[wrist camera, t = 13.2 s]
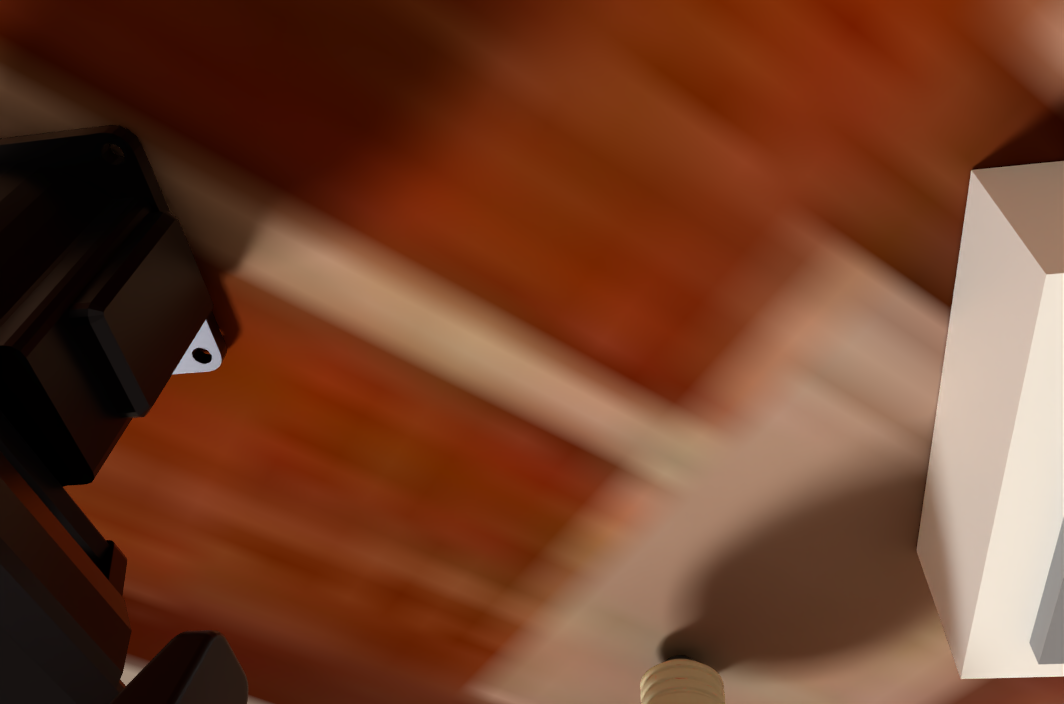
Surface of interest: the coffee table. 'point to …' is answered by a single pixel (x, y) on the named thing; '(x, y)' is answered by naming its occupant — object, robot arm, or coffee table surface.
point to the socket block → (1002, 433)
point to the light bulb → (681, 683)
